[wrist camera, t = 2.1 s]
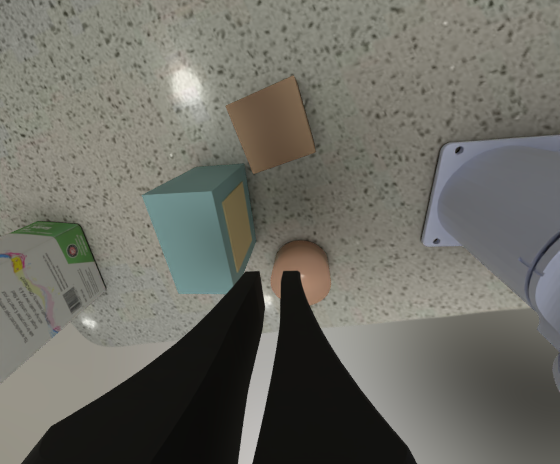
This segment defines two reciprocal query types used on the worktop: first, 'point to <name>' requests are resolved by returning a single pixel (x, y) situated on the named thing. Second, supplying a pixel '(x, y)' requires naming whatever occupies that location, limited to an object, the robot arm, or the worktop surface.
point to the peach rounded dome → (303, 269)
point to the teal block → (204, 227)
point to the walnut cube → (272, 125)
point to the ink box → (42, 287)
